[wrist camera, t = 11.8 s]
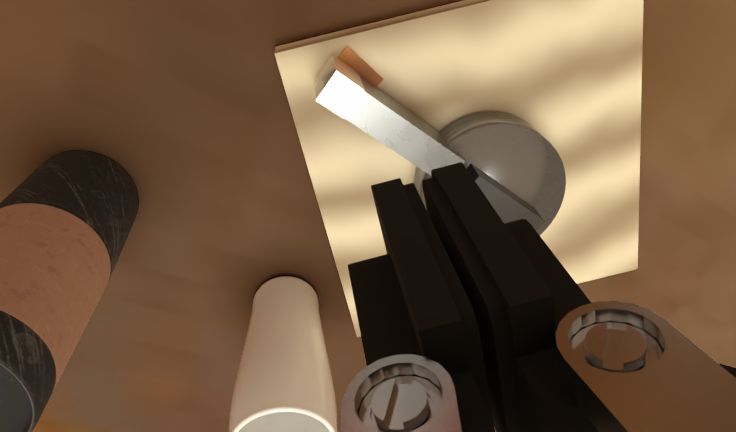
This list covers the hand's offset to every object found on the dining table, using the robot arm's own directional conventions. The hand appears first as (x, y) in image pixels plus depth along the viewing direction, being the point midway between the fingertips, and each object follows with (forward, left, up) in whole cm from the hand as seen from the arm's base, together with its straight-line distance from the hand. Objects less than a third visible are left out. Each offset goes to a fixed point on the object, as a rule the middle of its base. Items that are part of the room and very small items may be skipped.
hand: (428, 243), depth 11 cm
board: (+14, +8, -31) cm, 34 cm away
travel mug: (+9, -20, -31) cm, 38 cm away
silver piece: (+11, +5, -28) cm, 30 cm away
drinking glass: (+22, -9, -31) cm, 39 cm away
